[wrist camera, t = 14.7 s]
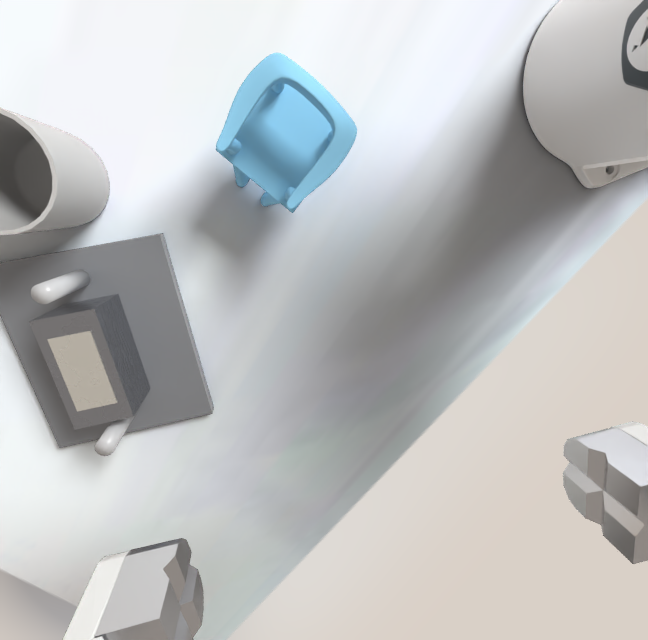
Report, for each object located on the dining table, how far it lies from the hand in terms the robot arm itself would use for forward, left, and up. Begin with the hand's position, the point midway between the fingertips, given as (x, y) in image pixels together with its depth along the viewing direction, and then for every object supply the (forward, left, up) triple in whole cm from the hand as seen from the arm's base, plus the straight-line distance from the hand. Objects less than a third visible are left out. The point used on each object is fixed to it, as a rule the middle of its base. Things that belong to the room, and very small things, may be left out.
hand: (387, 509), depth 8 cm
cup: (+17, -12, -29) cm, 36 cm away
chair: (-1, -10, -29) cm, 31 cm away
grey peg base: (+17, +3, -29) cm, 34 cm away
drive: (+17, +3, -28) cm, 33 cm away
